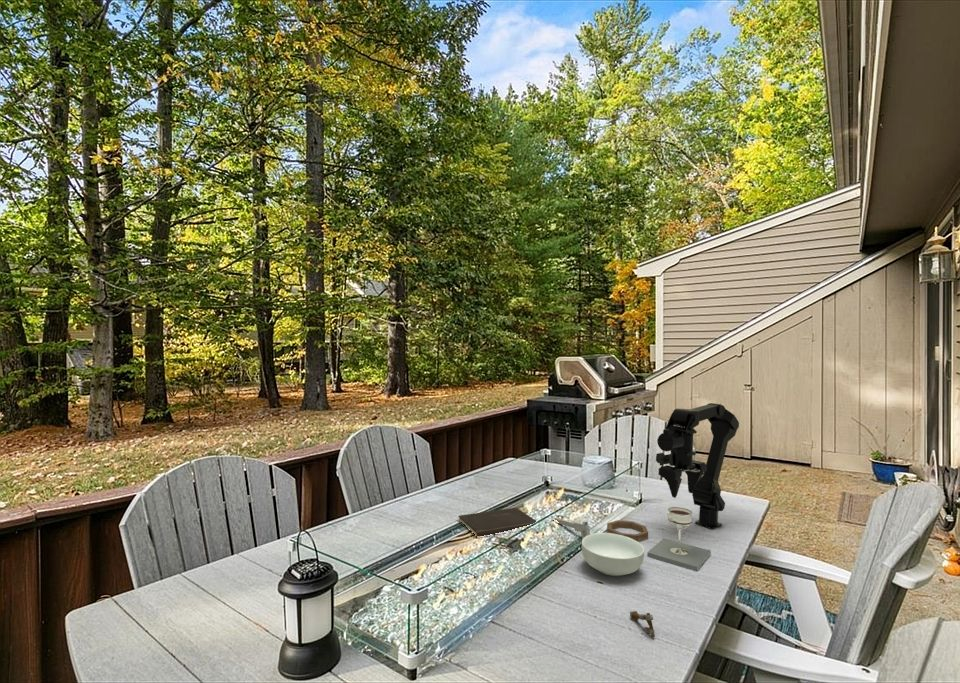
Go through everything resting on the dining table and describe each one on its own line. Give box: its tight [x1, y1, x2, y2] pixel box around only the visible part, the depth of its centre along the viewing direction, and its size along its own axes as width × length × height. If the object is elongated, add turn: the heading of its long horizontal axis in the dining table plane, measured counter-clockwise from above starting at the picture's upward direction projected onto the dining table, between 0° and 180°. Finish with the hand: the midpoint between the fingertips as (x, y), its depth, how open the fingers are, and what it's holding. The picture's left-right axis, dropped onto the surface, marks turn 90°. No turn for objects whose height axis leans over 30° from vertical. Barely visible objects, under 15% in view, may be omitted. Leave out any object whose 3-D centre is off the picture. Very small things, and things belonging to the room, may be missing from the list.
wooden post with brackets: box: [629, 610, 656, 638], centre depth 110 cm, size 2×8×4 cm, turn 14°
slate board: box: [646, 537, 712, 571], centre depth 147 cm, size 14×14×1 cm
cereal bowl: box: [581, 532, 645, 577], centre depth 138 cm, size 17×17×7 cm
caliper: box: [553, 517, 591, 540], centre depth 165 cm, size 20×1×6 cm, turn 24°
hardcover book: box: [458, 507, 537, 537], centre depth 169 cm, size 16×23×2 cm
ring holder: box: [606, 519, 649, 543], centre depth 163 cm, size 12×12×2 cm
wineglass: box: [667, 506, 693, 555], centre depth 148 cm, size 7×7×12 cm
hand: (682, 495), depth 163 cm, fingers open, 9 cm apart
